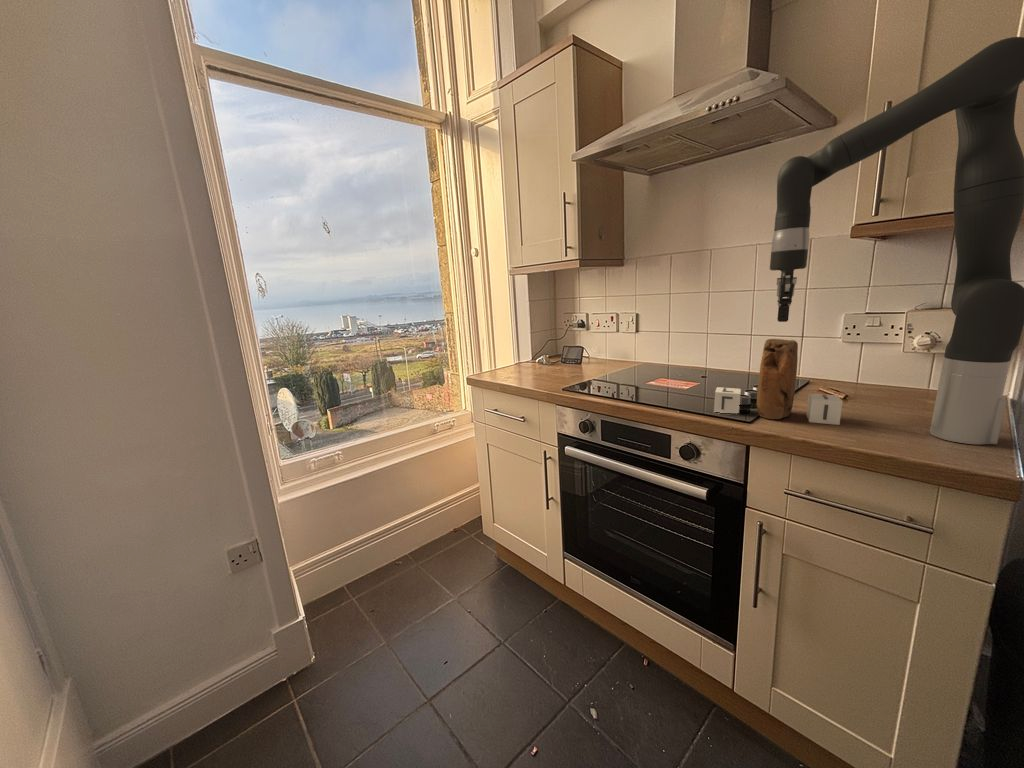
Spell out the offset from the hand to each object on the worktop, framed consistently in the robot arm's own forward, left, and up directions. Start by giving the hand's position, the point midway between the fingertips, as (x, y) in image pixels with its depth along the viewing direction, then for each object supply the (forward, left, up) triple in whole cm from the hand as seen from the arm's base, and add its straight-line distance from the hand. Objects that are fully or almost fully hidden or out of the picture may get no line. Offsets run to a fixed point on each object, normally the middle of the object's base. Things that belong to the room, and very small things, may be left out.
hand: (782, 321), depth 104 cm
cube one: (-10, 0, -25) cm, 27 cm away
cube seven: (+11, 0, -25) cm, 27 cm away
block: (0, 0, -25) cm, 25 cm away
